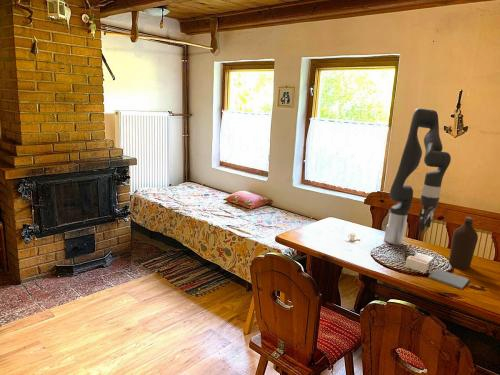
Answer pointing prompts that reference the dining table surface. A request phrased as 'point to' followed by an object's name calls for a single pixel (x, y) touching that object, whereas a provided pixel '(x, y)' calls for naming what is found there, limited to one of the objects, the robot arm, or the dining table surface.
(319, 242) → the dining table surface
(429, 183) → the robot arm
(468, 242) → the olive oil
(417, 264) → the block
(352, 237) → the teacup and saucer
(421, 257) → the external hard drive
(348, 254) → the dining table surface
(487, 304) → the dining table surface
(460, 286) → the mat
